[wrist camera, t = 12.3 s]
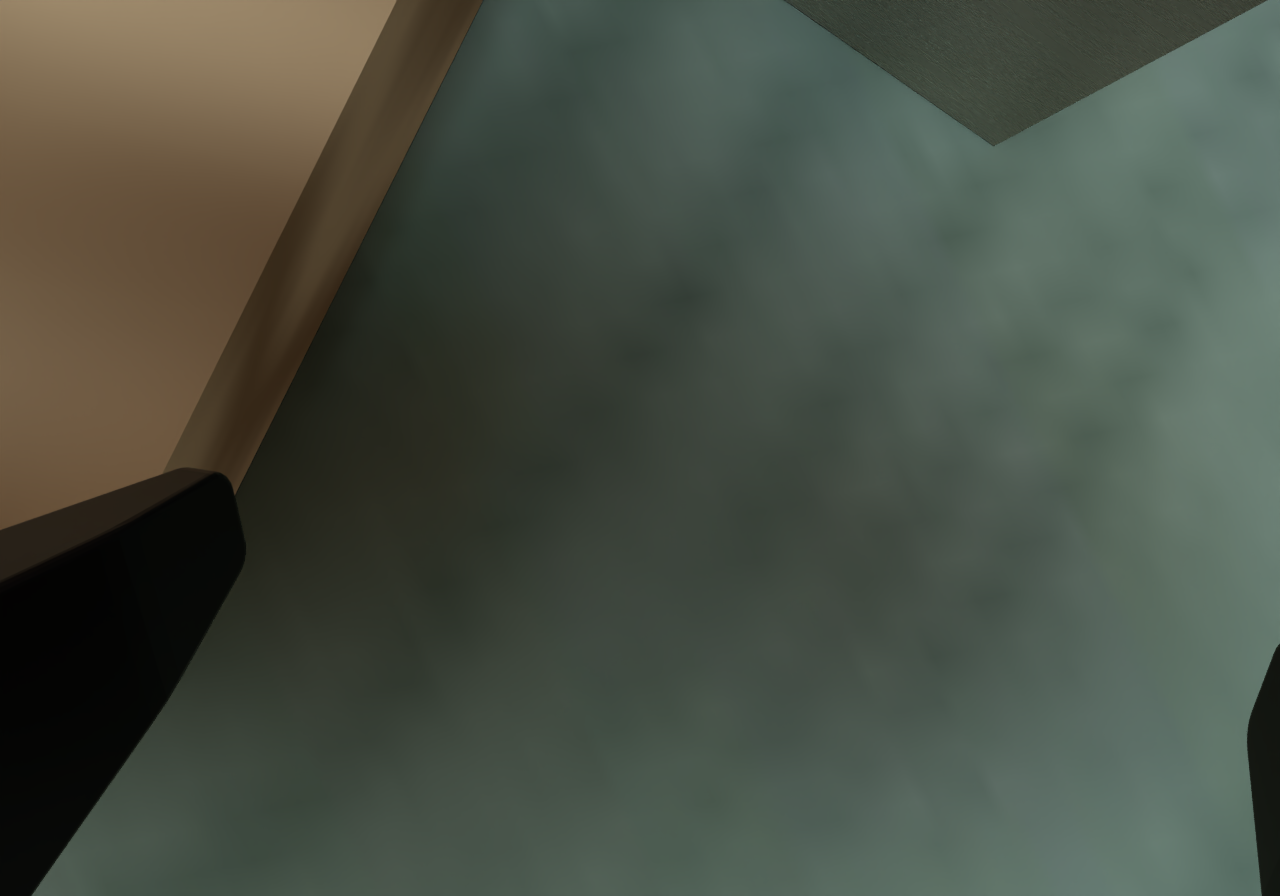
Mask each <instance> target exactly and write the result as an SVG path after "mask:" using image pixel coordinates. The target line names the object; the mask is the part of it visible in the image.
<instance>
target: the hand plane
mask: <svg viewBox="0 0 1280 896" xmlns="http://www.w3.org/2000/svg"><path fill="white" fill-rule="evenodd" d="M482 1H483V0H0V530H1V529H4V528H7V527H10V526H13V525H16V524H19V523H22V522H24V521H27V520H30V519H33V518H36V517H39V516H42V515H45V514H48V513H51V512H53V511H56V510H59V509H62V508H65V507H68V506H71V505H74V504H77V503H79V502H82V501H85V500H88V499H91V498H94V497H97V496H100V495H103V494H105V493H108V492H111V491H114V490H117V489H120V488H123V487H126V486H129V485H132V484H134V483H137V482H140V481H143V480H146V479H149V478H152V477H155V476H158V475H160V474H163V473H166V472H169V471H172V470H175V469H178V468H183V467H190V468H197V469H204V470H210V471H216V472H220V473H222V474H224V475H225V476H226V477H227V478H228V479H229V480H230V482H231V484H232V487H233V490H234V494H236V492H237V490H238V488H239V486H240V484H241V482H242V480H243V478H244V476H245V474H246V472H247V470H248V468H249V466H250V464H251V462H252V460H253V458H254V456H255V454H256V452H257V450H258V448H259V446H260V444H261V442H262V440H263V438H264V436H265V434H266V432H267V430H268V428H269V426H270V424H271V422H272V420H273V418H274V416H275V414H276V412H277V410H278V408H279V406H280V404H281V402H282V400H283V398H284V396H285V394H286V392H287V390H288V388H289V386H290V384H291V382H292V380H293V378H294V376H295V374H296V372H297V370H298V368H299V366H300V364H301V362H302V360H303V358H304V356H305V354H306V352H307V350H308V348H309V346H310V344H311V342H312V340H313V338H314V336H315V334H316V332H317V330H318V328H319V326H320V324H321V322H322V320H323V318H324V316H325V314H326V312H327V310H328V308H329V306H330V304H331V302H332V301H333V299H334V297H335V295H336V293H337V291H338V289H339V287H340V285H341V283H342V281H343V279H344V277H345V275H346V273H347V271H348V269H349V267H350V265H351V263H352V261H353V259H354V257H355V255H356V253H357V251H358V249H359V247H360V245H361V243H362V241H363V239H364V237H365V235H366V233H367V231H368V229H369V227H370V225H371V223H372V221H373V219H374V217H375V215H376V213H377V211H378V209H379V207H380V205H381V203H382V201H383V199H384V197H385V195H386V193H387V191H388V189H389V187H390V185H391V183H392V181H393V179H394V177H395V175H396V173H397V171H398V169H399V167H400V165H401V163H402V161H403V159H404V157H405V155H406V153H407V151H408V149H409V147H410V145H411V143H412V141H413V139H414V137H415V135H416V133H417V131H418V129H419V127H420V125H421V123H422V121H423V119H424V117H425V115H426V113H427V111H428V109H429V107H430V105H431V103H432V101H433V99H434V97H435V95H436V93H437V91H438V89H439V87H440V85H441V83H442V81H443V79H444V77H445V75H446V73H447V71H448V69H449V67H450V65H451V63H452V61H453V59H454V57H455V55H456V53H457V51H458V49H459V47H460V45H461V43H462V41H463V39H464V37H465V35H466V33H467V31H468V29H469V27H470V25H471V23H472V21H473V19H474V17H475V15H476V13H477V11H478V9H479V7H480V5H481V3H482Z"/></svg>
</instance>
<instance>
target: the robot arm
mask: <svg viewBox="0 0 1280 896" xmlns="http://www.w3.org/2000/svg"><path fill="white" fill-rule="evenodd" d="M245 555H246V543H245V538H244V534H243V529H242V525H241V520H240V516H239V512H238V507H237V503H236V499H235V494H234V490H233V487H232V484H231V482H230V480H229V479H228V478H227V477H226V476H225V475H224V474H222V473H220V472H216V471H210V470H204V469H197V468H190V467H183V468H178V469H175V470H172V471H169V472H166V473H163V474H160V475H158V476H155V477H152V478H149V479H146V480H143V481H140V482H137V483H134V484H132V485H129V486H126V487H123V488H120V489H117V490H114V491H111V492H108V493H105V494H103V495H100V496H97V497H94V498H91V499H88V500H85V501H82V502H79V503H77V504H74V505H71V506H68V507H65V508H62V509H59V510H56V511H53V512H51V513H48V514H45V515H42V516H39V517H36V518H33V519H30V520H27V521H24V522H22V523H19V524H16V525H13V526H10V527H7V528H4V529H1V530H0V896H32V894H33V893H34V891H35V890H36V888H37V887H38V886H39V884H40V883H41V881H42V880H43V879H44V877H45V876H46V874H47V873H48V871H49V870H50V869H51V867H52V866H53V864H54V863H55V861H56V860H57V859H58V857H59V856H60V854H61V853H62V851H63V850H64V849H65V847H66V846H67V844H68V843H69V842H70V840H71V839H72V837H73V836H74V834H75V833H76V832H77V830H78V829H79V827H80V826H81V824H82V823H83V822H84V820H85V819H86V817H87V816H88V814H89V813H90V812H91V810H92V809H93V807H94V806H95V805H96V803H97V802H98V800H99V799H100V797H101V796H102V795H103V793H104V792H105V790H106V789H107V787H108V786H109V785H110V783H111V782H112V780H113V779H114V777H115V776H116V775H117V773H118V772H119V770H120V769H121V768H122V766H123V765H124V763H125V762H126V760H127V759H128V758H129V756H130V755H131V753H132V752H133V750H134V749H135V748H136V746H137V745H138V743H139V742H140V740H141V739H142V738H143V736H144V735H145V733H146V732H147V731H148V729H149V728H150V726H151V725H152V723H153V722H154V720H155V719H156V717H157V716H158V714H159V713H160V711H161V710H162V708H163V707H164V705H165V704H166V702H167V701H168V699H169V698H170V696H171V694H172V693H173V691H174V689H175V688H176V686H177V684H178V683H179V681H180V679H181V677H182V676H183V674H184V672H185V670H186V669H187V667H188V665H189V663H190V661H191V660H192V658H193V656H194V654H195V652H196V651H197V649H198V647H199V645H200V644H201V642H202V640H203V638H204V636H205V635H206V633H207V631H208V629H209V627H210V626H211V624H212V622H213V620H214V619H215V617H216V615H217V613H218V611H219V610H220V608H221V606H222V604H223V602H224V601H225V599H226V597H227V595H228V594H229V592H230V590H231V588H232V586H233V585H234V583H235V581H236V579H237V577H238V576H239V574H240V572H241V570H242V567H243V564H244V561H245ZM1247 751H1248V761H1249V771H1250V781H1251V791H1252V801H1253V812H1254V822H1255V832H1256V842H1257V852H1258V863H1259V873H1260V883H1261V893H1262V896H1280V644H1279V645H1278V647H1277V648H1276V650H1275V652H1274V654H1273V657H1272V660H1271V662H1270V665H1269V668H1268V670H1267V673H1266V675H1265V678H1264V681H1263V683H1262V686H1261V689H1260V691H1259V694H1258V697H1257V699H1256V702H1255V704H1254V707H1253V710H1252V712H1251V716H1250V719H1249V724H1248V732H1247Z"/></svg>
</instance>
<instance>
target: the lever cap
mask: <svg viewBox="0 0 1280 896" xmlns="http://www.w3.org/2000/svg"><path fill="white" fill-rule="evenodd" d="M785 1H787V2H788V3H790V4H791V5H793V6H794V7H795V8H797V9H798V10H800V11H801V12H803V13H804V14H805V15H807V16H808V17H810V18H811V19H813V20H814V21H815V22H817V23H818V24H820V25H821V26H823V27H824V28H825V29H827V30H828V31H830V32H831V33H833V34H834V35H836V36H837V37H838V38H840V39H841V40H843V41H844V42H846V43H847V44H848V45H850V46H851V47H853V48H854V49H856V50H857V51H858V52H860V53H861V54H863V55H864V56H866V57H867V58H868V59H870V60H871V61H873V62H874V63H876V64H877V65H879V66H880V67H881V68H883V69H884V70H886V71H887V72H889V73H890V74H891V75H893V76H894V77H896V78H897V79H899V80H900V81H901V82H903V83H904V84H906V85H907V86H909V87H910V88H912V89H913V90H914V91H916V92H917V93H919V94H920V95H922V96H923V97H924V98H926V99H927V100H929V101H930V102H932V103H933V104H934V105H936V106H937V107H939V108H940V109H942V110H943V111H944V112H946V113H947V114H949V115H950V116H952V117H953V118H955V119H956V120H957V121H959V122H960V123H962V124H963V125H965V126H966V127H967V128H969V129H970V130H972V131H973V132H975V133H976V134H977V135H979V136H980V137H982V138H983V139H985V140H986V141H987V142H989V143H990V144H992V145H993V146H995V145H997V144H999V143H1001V142H1003V141H1005V140H1006V139H1008V138H1010V137H1012V136H1014V135H1016V134H1018V133H1020V132H1021V131H1023V130H1025V129H1027V128H1029V127H1031V126H1033V125H1035V124H1036V123H1038V122H1040V121H1042V120H1044V119H1046V118H1048V117H1050V116H1051V115H1053V114H1055V113H1057V112H1059V111H1061V110H1063V109H1065V108H1066V107H1068V106H1070V105H1072V104H1074V103H1076V102H1078V101H1080V100H1081V99H1083V98H1085V97H1087V96H1089V95H1091V94H1093V93H1095V92H1097V91H1098V90H1100V89H1102V88H1104V87H1106V86H1108V85H1110V84H1112V83H1113V82H1115V81H1117V80H1119V79H1121V78H1123V77H1125V76H1127V75H1128V74H1130V73H1132V72H1134V71H1136V70H1138V69H1140V68H1142V67H1143V66H1145V65H1147V64H1149V63H1151V62H1153V61H1155V60H1157V59H1158V58H1160V57H1162V56H1164V55H1166V54H1168V53H1170V52H1172V51H1173V50H1175V49H1177V48H1179V47H1181V46H1183V45H1185V44H1187V43H1188V42H1190V41H1192V40H1194V39H1196V38H1198V37H1200V36H1202V35H1203V34H1205V33H1207V32H1209V31H1211V30H1213V29H1215V28H1217V27H1218V26H1220V25H1222V24H1224V23H1226V22H1228V21H1230V20H1232V19H1233V18H1235V17H1237V16H1239V15H1241V14H1243V13H1245V12H1247V11H1248V10H1250V9H1252V8H1254V7H1256V6H1258V5H1260V4H1262V3H1264V2H1265V1H1267V0H785Z"/></svg>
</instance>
